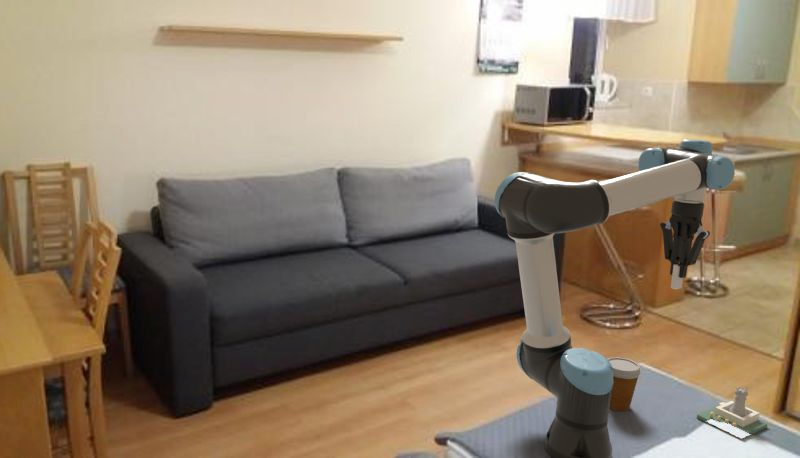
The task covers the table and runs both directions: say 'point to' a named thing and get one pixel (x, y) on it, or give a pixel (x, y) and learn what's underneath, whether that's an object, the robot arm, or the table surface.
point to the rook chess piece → (739, 402)
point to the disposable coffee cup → (623, 382)
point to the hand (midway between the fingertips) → (676, 288)
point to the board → (734, 418)
